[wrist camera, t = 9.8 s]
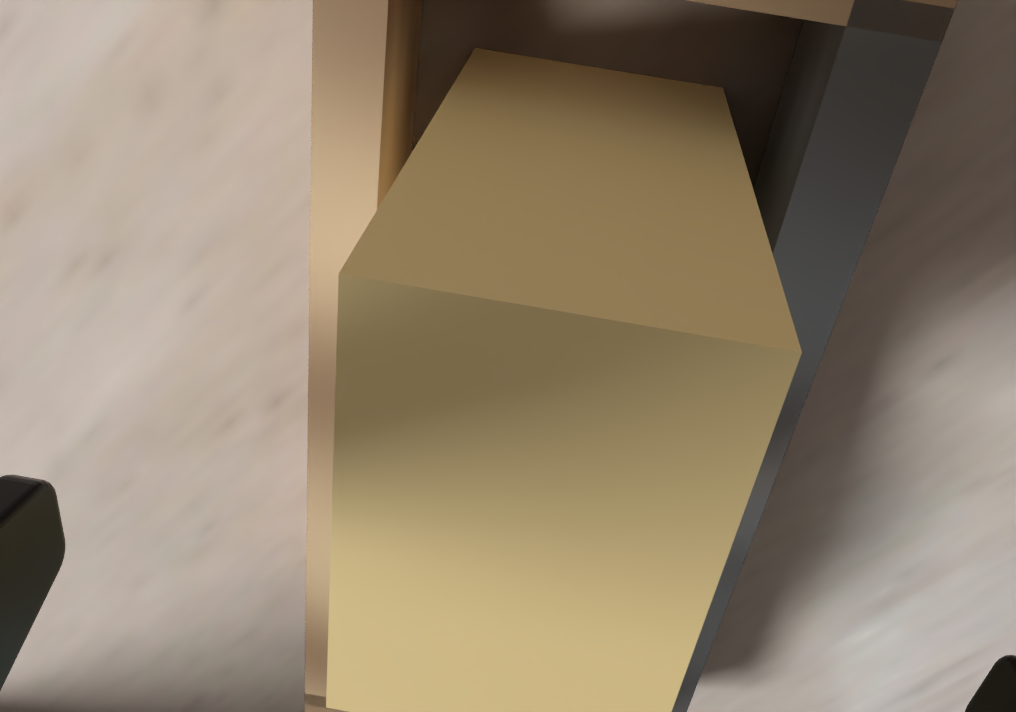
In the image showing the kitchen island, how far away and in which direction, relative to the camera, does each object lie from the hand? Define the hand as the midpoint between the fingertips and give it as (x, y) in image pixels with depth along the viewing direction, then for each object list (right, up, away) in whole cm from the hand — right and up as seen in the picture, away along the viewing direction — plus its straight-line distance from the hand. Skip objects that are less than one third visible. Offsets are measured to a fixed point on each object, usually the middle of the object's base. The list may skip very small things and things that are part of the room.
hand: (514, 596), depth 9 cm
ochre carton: (+1, +4, +8) cm, 9 cm away
